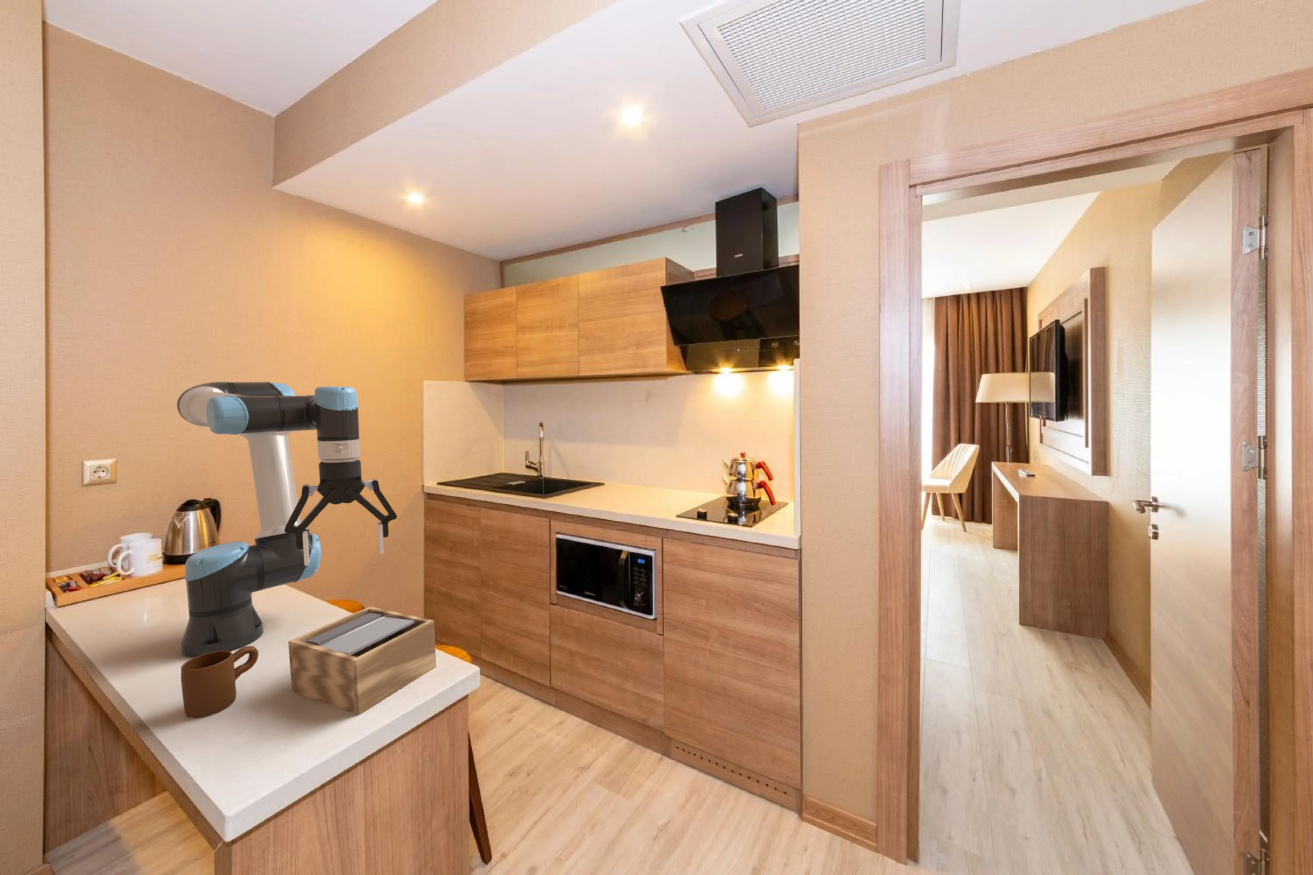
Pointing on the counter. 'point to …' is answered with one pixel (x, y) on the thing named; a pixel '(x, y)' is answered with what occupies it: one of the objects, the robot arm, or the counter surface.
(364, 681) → the trapdoor frame
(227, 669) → the mug
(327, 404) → the robot arm
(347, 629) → the trapdoor
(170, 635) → the counter surface
